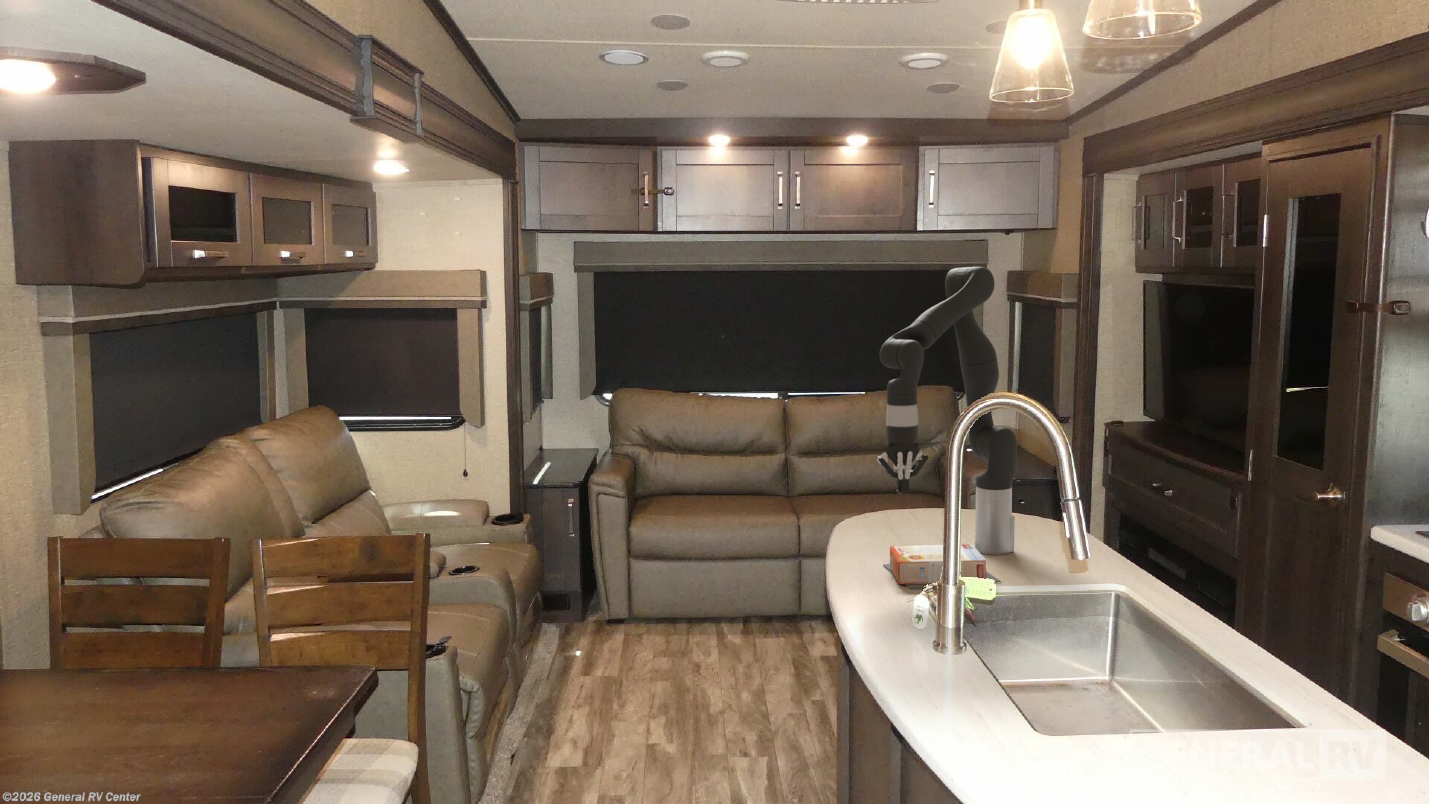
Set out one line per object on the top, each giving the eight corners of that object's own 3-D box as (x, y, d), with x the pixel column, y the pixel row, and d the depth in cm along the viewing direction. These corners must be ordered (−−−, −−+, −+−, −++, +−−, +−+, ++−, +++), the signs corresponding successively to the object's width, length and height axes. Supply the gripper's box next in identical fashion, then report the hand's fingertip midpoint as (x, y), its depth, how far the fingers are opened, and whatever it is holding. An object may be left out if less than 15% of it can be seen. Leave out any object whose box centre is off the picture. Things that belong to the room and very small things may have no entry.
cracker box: (897, 586, 252) (986, 583, 251) (897, 561, 251) (986, 558, 250) (889, 568, 266) (973, 566, 265) (889, 545, 265) (973, 542, 264)
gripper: (922, 419, 259) (923, 489, 261) (870, 422, 257) (871, 492, 259) (934, 423, 252) (934, 495, 254) (880, 426, 250) (881, 499, 252)
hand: (902, 493), depth 257 cm, fingers closed
